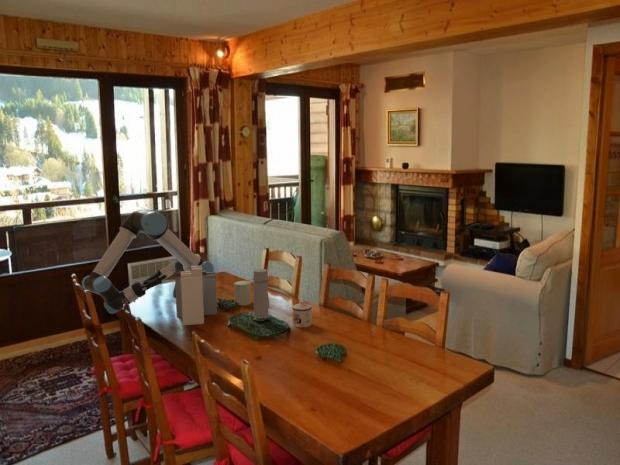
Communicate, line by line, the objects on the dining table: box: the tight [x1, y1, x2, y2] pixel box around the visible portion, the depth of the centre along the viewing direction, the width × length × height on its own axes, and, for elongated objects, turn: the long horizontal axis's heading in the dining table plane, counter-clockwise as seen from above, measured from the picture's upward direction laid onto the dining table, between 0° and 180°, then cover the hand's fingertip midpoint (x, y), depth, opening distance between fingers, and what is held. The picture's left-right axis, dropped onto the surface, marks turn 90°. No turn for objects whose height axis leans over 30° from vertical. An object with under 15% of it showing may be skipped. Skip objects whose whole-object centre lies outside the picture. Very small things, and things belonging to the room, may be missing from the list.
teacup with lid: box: [292, 300, 313, 329], centre depth 254 cm, size 12×9×12 cm
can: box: [233, 280, 252, 307], centre depth 293 cm, size 9×9×12 cm
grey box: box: [174, 271, 218, 318], centre depth 273 cm, size 7×20×20 cm, turn 103°
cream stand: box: [181, 266, 205, 326], centre depth 260 cm, size 10×10×27 cm
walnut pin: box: [161, 271, 206, 281], centre depth 271 cm, size 3×22×3 cm, turn 103°
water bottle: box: [252, 268, 270, 318], centre depth 262 cm, size 9×8×25 cm
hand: (172, 268), depth 269 cm, fingers open, 13 cm apart
